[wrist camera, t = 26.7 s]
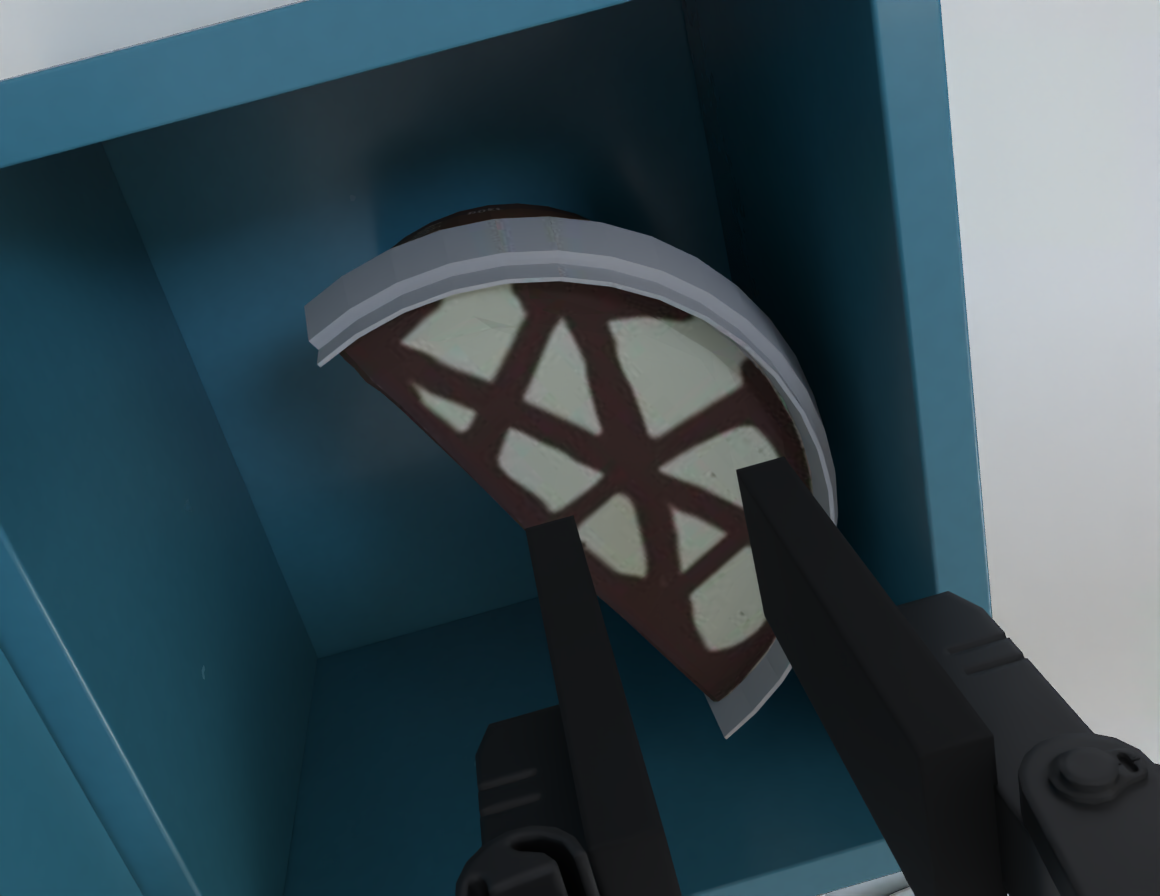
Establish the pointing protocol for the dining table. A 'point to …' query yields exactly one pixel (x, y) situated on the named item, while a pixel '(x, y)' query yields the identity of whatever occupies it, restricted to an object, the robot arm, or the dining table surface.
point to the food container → (598, 411)
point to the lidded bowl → (905, 892)
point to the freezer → (400, 447)
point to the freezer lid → (47, 812)
